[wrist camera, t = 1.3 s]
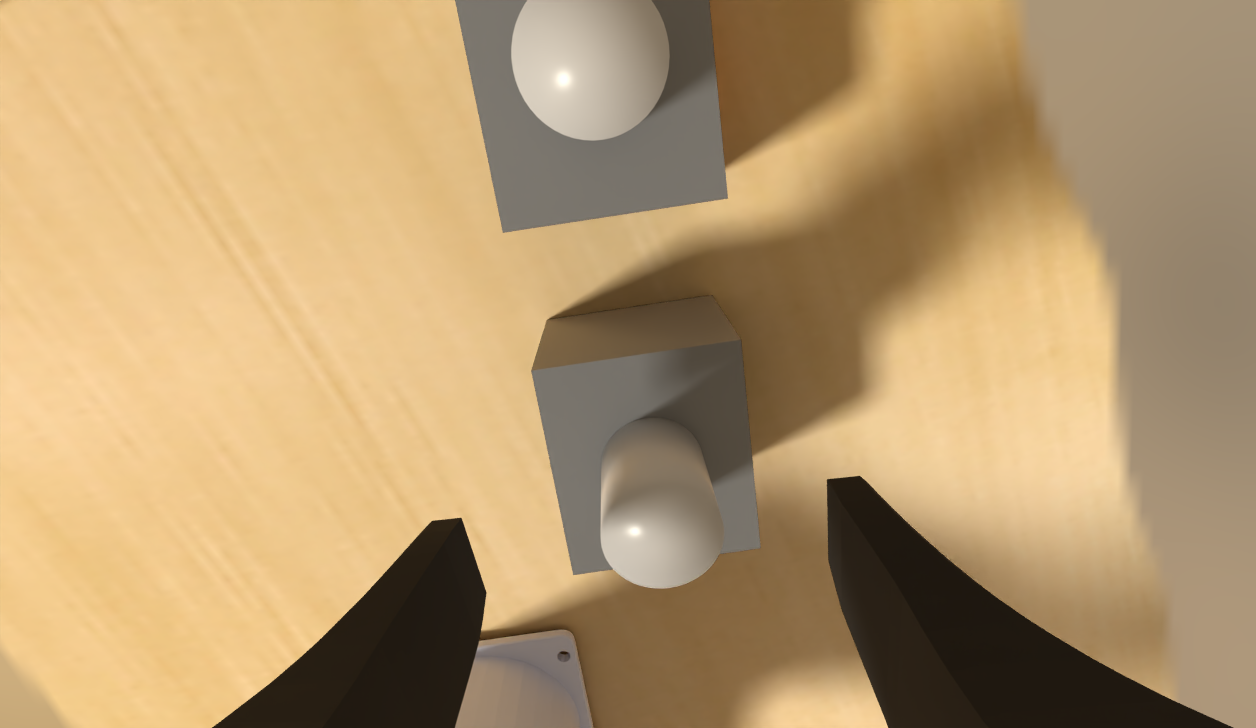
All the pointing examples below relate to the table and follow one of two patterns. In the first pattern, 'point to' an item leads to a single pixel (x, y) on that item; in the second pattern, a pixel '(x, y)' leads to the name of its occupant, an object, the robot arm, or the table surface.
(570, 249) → the table surface
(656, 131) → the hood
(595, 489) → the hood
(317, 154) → the table surface
